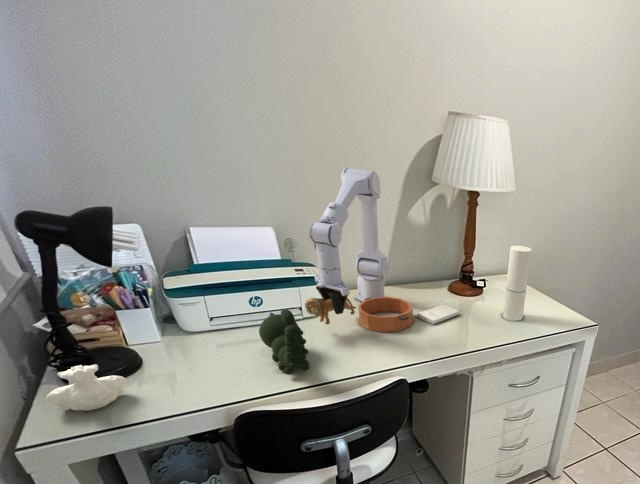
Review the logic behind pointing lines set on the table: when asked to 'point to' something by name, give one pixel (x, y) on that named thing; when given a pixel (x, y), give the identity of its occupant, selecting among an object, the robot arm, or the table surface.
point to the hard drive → (438, 314)
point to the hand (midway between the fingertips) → (334, 310)
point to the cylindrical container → (516, 282)
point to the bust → (86, 389)
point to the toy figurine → (285, 341)
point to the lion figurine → (324, 307)
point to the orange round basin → (386, 321)
